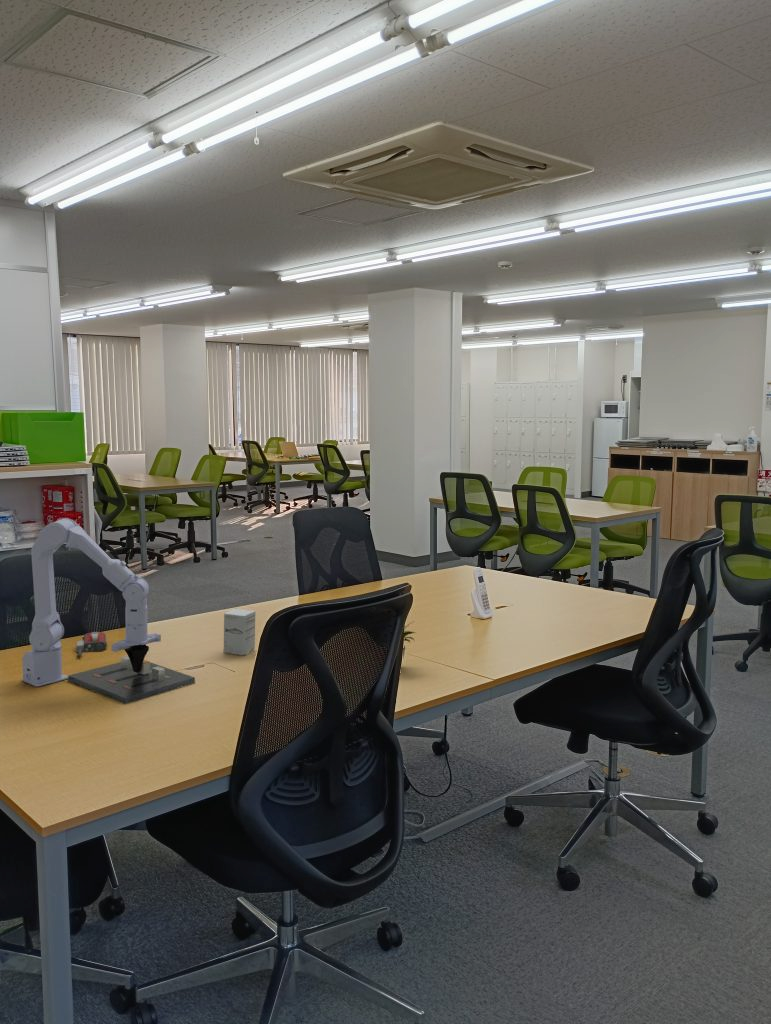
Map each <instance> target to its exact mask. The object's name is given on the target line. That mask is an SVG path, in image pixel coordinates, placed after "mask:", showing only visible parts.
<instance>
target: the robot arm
mask: <svg viewBox="0 0 771 1024" xmlns="http://www.w3.org/2000/svg"><path fill="white" fill-rule="evenodd" d="M65 544H66V545H65ZM63 545H65V548H71V549H78V550H80V551H82V552H83V554H85V555H86V556H88V557H89V558H90V559H91V560H92V561H93V562H95V563H96V564H97V565H98V566H100V567H101V569H102V575H103V577H104V578H106V579H107V581H109V582H110V583H111V584H112V585H113V586H115V587H116V589H118V590H119V591H120V592H122V593H121V595H122V597H123V599H124V600H125V611H124V612H125V638H123V639H120V640H119V641H117V642H113V643H111V644H110V646H111V648H110V649H111V651H112V652H114V653H118V652H119V651H123V650H124V652H125V653H126V656H128V657H129V659H130V661H131V665H132V668H133V672H136V673H140V671H141V667H142V663H143V660H145V657H146V655H147V654H148V652H149V650H150V646H148V644H153V643H156V642H157V643H160V642H161V641H162V640H161V639H162V638H161V637H162V634H161V633H152V634H148V597H147V595H148V594H149V592H150V585H149V583H148V581H147V580H146V579H145V578H144V577H140V576H139V574H138V573H136V574H135V573H134V572H133V571H132V570H131V569H130V568H128V567H127V566H126V565H127V563H126V562H125V560H120V559H118V558H111V557H110V556H109V555H108V554H107V553H106V551H104V550H103V548H102V547H100V545H98V543H97V542H95V540H94V539H92V537H90V535H89V534H88V533H87V532H86V531H85V530H84V528H83V527H81V525H77V523H76V522H75V521H74V520H73V519H71V518H67V517H63V518H60V519H58V520H56V521H54V522H50V523H48V524H47V525H45V526H44V527H42V529H40V530H39V535H38V536H37V538H36V539H35V541H34V543H33V545H32V547H31V550H30V551H31V553H30V554H31V567H32V569H31V571H32V580H33V582H32V583H33V597H34V613H35V614H34V617H33V621H32V623H31V632H30V634H29V637H28V641H29V644H30V646H32V649H31V650H29V651H26V652H24V654H23V656H22V678H21V681H22V682H24V683H26V684H29V685H32V686H34V687H42V686H46V685H49V684H53V683H58V682H61V681H66V680H68V675H65V674H63V660H62V659H63V658H62V657H63V655H62V654H63V653H62V652H63V651H62V648H63V647H62V643H61V639H62V638H63V636H64V634H65V627H64V625H63V624H62V622H61V617H60V616H61V615H60V614H59V612H58V611H57V603H56V585H55V571H54V570H55V569H54V556H53V555H54V553H56V551H57V550H59V548H61V547H62V546H63Z"/></svg>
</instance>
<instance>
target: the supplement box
mask: <svg viewBox="0 0 771 1024" xmlns="http://www.w3.org/2000/svg"><path fill="white" fill-rule="evenodd" d="M256 612H257V611H256V610H249V609H242V608H234V609H231V610H228V611H226V612H225V613H224V614H223V654H230V653H231V654H232V655H237V654H239V655H238V656H242V655H245V654H246V655H248V654H249V653H248V652H250V651H252V650H253V651H255V650H254V649H256V648H255V646H256V645H255V644H256ZM253 651H252V652H253ZM247 653H248V654H247ZM250 653H251V652H250ZM246 655H245V656H246Z"/></svg>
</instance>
